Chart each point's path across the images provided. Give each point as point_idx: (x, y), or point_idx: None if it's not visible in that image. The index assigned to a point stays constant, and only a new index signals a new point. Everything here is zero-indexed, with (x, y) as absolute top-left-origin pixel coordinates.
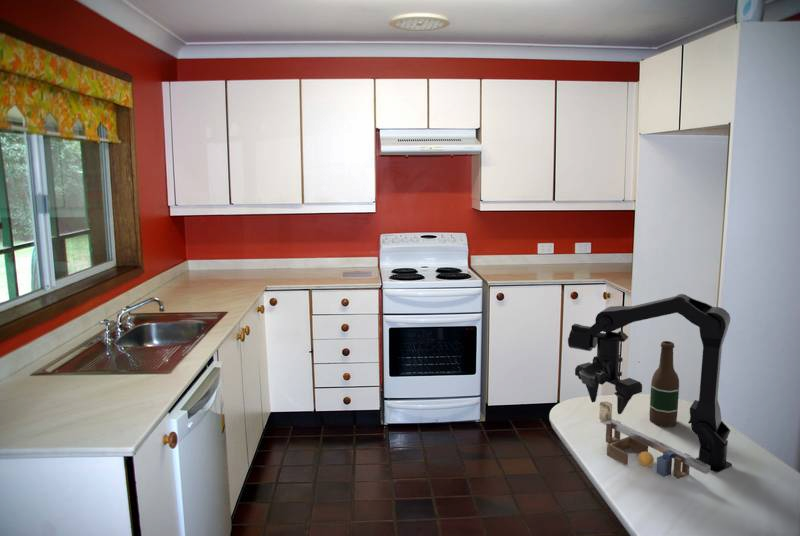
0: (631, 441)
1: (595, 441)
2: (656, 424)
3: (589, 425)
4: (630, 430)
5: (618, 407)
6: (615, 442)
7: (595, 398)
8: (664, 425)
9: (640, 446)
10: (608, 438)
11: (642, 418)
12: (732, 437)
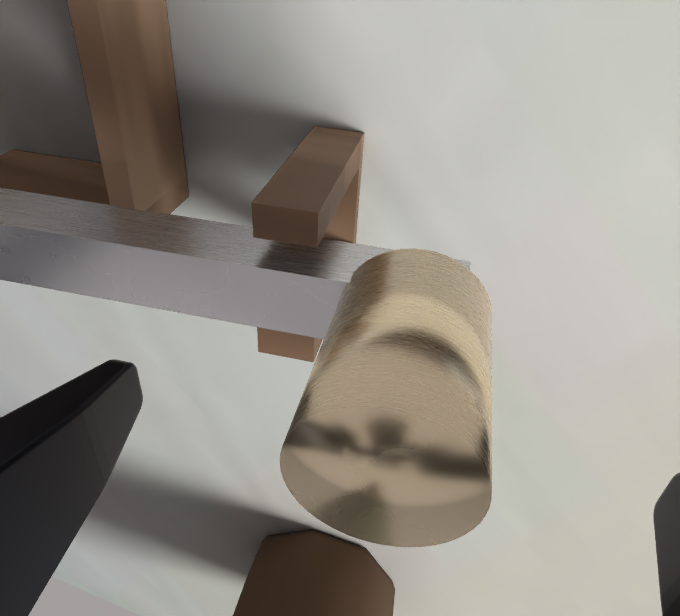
0: (102, 199)
1: (428, 40)
2: (312, 532)
3: (668, 288)
4: (29, 244)
5: (14, 433)
6: (78, 4)
7: (666, 567)
8: (275, 539)
9: (15, 184)
10: (321, 142)
11: (416, 555)
12: (73, 568)
